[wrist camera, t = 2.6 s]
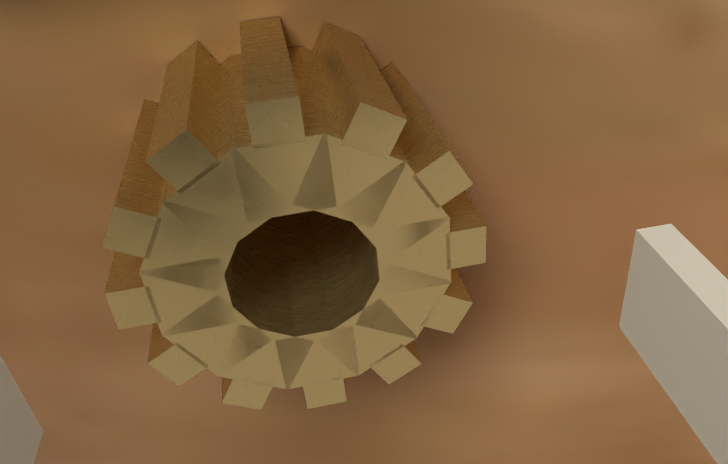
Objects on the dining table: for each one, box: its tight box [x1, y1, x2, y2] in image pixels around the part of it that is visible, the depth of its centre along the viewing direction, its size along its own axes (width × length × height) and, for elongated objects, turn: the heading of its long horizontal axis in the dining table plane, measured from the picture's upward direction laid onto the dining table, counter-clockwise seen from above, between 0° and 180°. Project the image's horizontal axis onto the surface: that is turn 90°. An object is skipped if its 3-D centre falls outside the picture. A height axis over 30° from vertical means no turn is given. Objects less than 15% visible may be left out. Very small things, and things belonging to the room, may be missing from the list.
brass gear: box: [102, 16, 486, 410], centre depth 18 cm, size 9×9×6 cm
